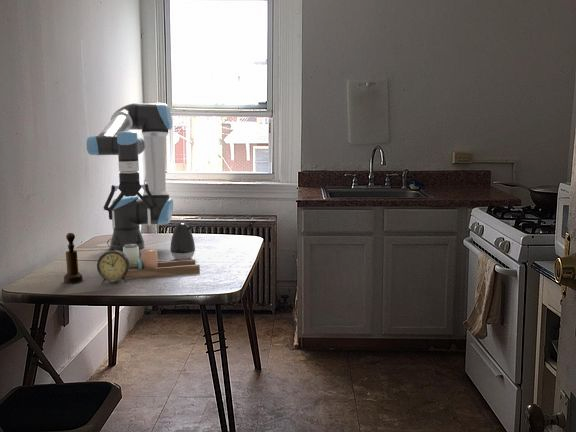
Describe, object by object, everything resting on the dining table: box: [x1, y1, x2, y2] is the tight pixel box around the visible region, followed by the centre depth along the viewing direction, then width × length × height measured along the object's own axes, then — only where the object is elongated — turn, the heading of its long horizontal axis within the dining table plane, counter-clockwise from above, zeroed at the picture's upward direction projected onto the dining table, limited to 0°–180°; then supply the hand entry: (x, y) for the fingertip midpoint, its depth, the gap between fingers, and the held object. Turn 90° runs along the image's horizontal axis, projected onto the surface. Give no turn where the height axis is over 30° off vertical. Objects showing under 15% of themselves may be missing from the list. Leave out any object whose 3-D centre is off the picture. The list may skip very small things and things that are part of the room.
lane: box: [124, 259, 201, 280], centre depth 262 cm, size 10×29×3 cm, turn 108°
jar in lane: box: [140, 248, 159, 269], centre depth 260 cm, size 6×6×9 cm
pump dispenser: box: [169, 222, 196, 261], centre depth 284 cm, size 10×10×15 cm
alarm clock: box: [96, 238, 129, 285], centre depth 247 cm, size 11×5×16 cm, turn 95°
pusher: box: [129, 257, 142, 269], centre depth 258 cm, size 7×7×5 cm
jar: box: [122, 244, 140, 265], centre depth 268 cm, size 6×6×10 cm
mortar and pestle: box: [63, 232, 84, 284], centre depth 249 cm, size 7×6×18 cm
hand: (131, 226), depth 266 cm, fingers open, 13 cm apart
